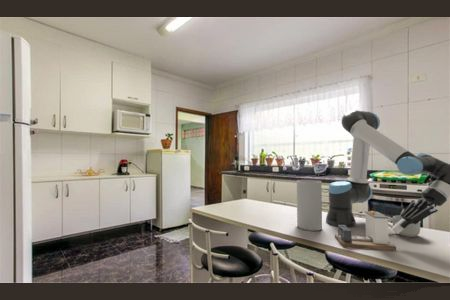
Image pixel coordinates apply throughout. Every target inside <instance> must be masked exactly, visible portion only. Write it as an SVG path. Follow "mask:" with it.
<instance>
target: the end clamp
mask: <svg viewBox="0 0 450 300" xmlns="http://www.w3.org/2000/svg"><path fill="white" fill-rule="evenodd" d="M337 234H338V236H339V235H340V236H341V237H342V240H343V241H344V242H352V235H353V234H352V230H351V228H350V227H347V226H345V225H338V226H337Z"/></svg>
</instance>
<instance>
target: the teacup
mask: <svg viewBox="0 0 450 300" xmlns="http://www.w3.org/2000/svg"><path fill="white" fill-rule="evenodd" d="M387 217H388V220H390V221H391V223H392V224H389V223H388V228H390V229H391V228H392V227H393V226H394V225H395V224H396V223H397V222H399V221H400V220H401V219H402V217H401V216H400V215H394V216H392V217H391V216H387ZM421 221H422V220H421ZM421 221H420V222H418V223H417V224H414V223H412V224H409V225H408V226H407V227H406V228H404V229H403V230H402V231H401V232H400V233H399V234H398V235H400V236H402V237H406V238H414V237H417V236H418V235H420V233H421V223H422V222H421Z"/></svg>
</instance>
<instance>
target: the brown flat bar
mask: <svg viewBox="0 0 450 300" xmlns="http://www.w3.org/2000/svg"><path fill="white" fill-rule="evenodd" d="M363 236H364V235H363ZM363 236H352V240H353V241H370V242H373V240H372V238H371V237H363ZM339 238H340V239H341V240H342V237H341V236H340V235H339ZM389 242H390V241H388V243H389Z"/></svg>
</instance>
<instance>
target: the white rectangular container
mask: <svg viewBox="0 0 450 300" xmlns="http://www.w3.org/2000/svg"><path fill="white" fill-rule="evenodd" d="M364 213H365V214H364V216H365V236H366V237H371V238H372V240H373V242H374V243H377V244H388V241H389V226H388V224H389V219H388V217H389V216H387V215H385V214H383V213H381V212H379V211H373V210H367V211H366V210H365V211H364ZM389 242H390V241H389Z"/></svg>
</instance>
